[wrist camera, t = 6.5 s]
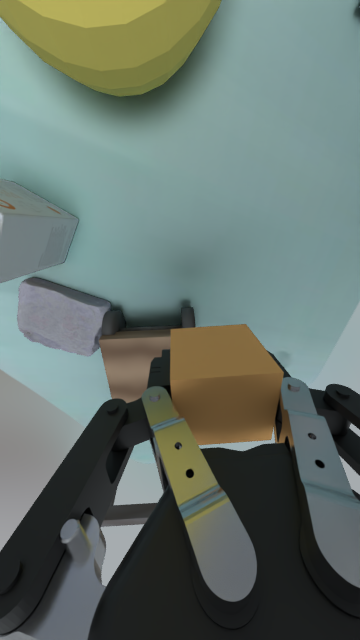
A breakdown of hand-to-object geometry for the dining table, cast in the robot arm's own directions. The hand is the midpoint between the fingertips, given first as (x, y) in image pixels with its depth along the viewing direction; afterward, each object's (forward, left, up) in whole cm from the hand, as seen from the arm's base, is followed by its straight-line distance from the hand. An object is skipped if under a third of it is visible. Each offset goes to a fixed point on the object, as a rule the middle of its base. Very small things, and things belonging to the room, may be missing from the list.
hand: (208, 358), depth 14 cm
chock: (0, 0, 0) cm, 0 cm away
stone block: (+18, +4, -18) cm, 26 cm away
